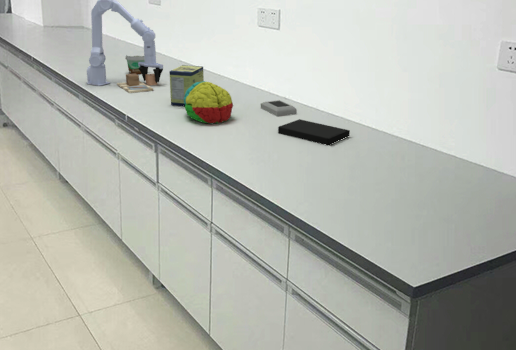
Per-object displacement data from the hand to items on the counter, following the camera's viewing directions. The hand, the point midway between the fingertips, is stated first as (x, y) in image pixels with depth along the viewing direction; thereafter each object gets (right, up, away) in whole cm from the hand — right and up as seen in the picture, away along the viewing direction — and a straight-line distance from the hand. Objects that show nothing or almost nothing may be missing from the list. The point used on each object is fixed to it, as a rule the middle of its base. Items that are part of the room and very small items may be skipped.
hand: (151, 81), depth 308 cm
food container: (-12, +8, +25) cm, 28 cm away
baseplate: (-7, -4, -8) cm, 11 cm away
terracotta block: (0, -1, +1) cm, 2 cm away
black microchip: (+76, -33, -78) cm, 114 cm away
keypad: (+63, -21, -46) cm, 81 cm away
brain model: (+33, -24, -57) cm, 70 cm away
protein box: (+23, -15, -33) cm, 43 cm away
